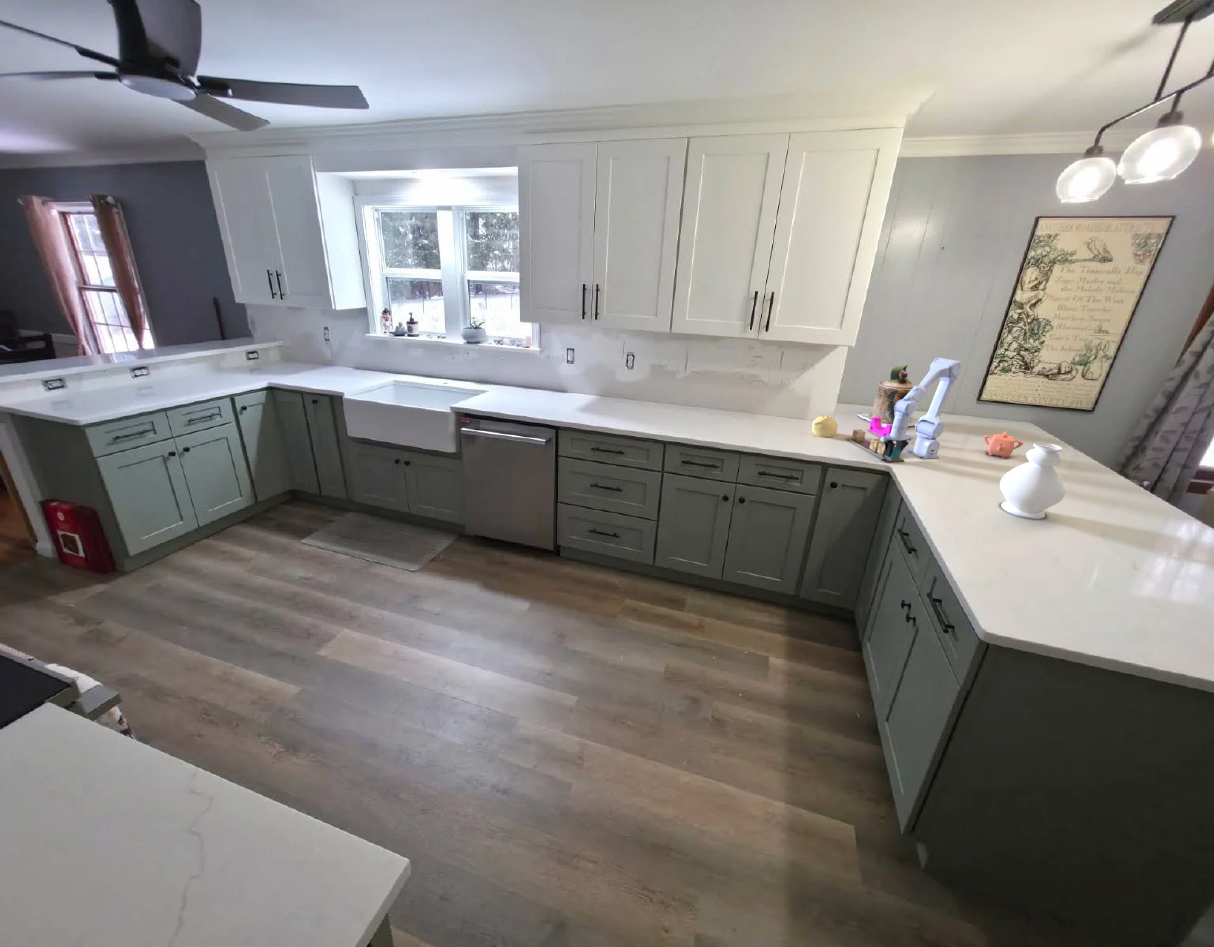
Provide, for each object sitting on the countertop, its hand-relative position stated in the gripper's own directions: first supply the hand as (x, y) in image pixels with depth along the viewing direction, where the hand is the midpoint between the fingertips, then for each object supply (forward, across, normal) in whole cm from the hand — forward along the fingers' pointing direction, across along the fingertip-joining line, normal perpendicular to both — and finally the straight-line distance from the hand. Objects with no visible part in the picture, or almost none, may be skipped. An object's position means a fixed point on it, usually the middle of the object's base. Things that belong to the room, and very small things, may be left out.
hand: (892, 455), depth 223 cm
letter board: (+2, 0, -12) cm, 13 cm away
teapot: (+2, -55, 0) cm, 55 cm away
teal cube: (+1, 0, 0) cm, 1 cm away
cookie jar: (+2, -39, -54) cm, 66 cm away
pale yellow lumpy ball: (+2, +13, -34) cm, 37 cm away
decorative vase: (+2, -14, +52) cm, 53 cm away
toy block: (+2, -19, -32) cm, 37 cm away
